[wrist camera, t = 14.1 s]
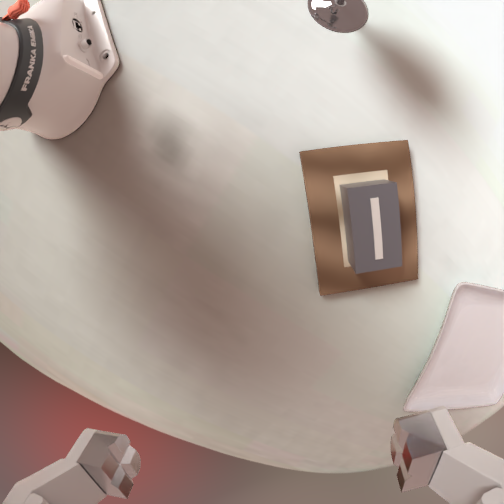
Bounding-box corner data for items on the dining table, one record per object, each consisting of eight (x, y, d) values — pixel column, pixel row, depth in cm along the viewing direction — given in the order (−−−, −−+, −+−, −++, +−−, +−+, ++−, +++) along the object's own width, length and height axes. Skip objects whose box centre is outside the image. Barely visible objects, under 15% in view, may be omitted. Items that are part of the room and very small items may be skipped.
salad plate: (490, 394, 41) (498, 406, 37) (395, 399, 42) (401, 414, 38) (539, 287, 34) (551, 295, 31) (445, 271, 35) (457, 281, 32)
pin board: (299, 151, 33) (301, 151, 29) (402, 140, 31) (417, 139, 27) (319, 290, 37) (323, 306, 33) (413, 274, 35) (426, 287, 31)
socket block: (339, 184, 32) (347, 188, 28) (384, 179, 31) (397, 182, 27) (348, 261, 34) (356, 274, 30) (390, 254, 33) (402, 266, 30)
